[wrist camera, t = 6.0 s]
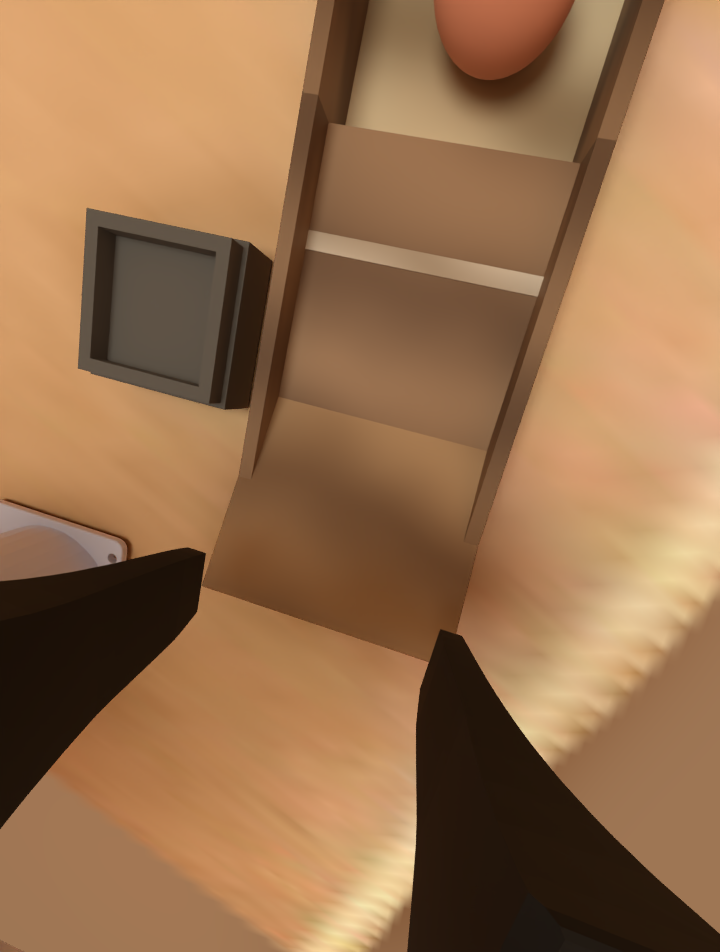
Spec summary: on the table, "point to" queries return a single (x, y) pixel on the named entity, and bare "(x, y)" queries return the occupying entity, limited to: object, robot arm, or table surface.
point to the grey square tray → (171, 309)
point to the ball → (498, 33)
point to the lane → (413, 308)
